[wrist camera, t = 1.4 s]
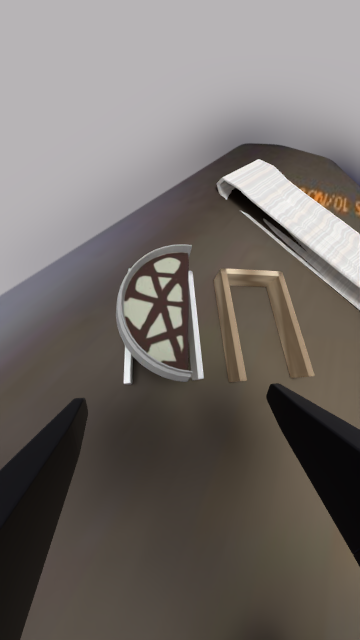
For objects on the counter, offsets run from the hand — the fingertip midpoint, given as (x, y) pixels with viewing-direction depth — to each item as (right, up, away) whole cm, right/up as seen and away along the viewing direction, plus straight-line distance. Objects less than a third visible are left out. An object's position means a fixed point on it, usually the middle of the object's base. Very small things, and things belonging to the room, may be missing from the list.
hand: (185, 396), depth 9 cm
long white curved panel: (+24, +19, +27) cm, 41 cm away
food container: (-4, +2, +15) cm, 15 cm away
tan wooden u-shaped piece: (+10, +2, +17) cm, 20 cm away
